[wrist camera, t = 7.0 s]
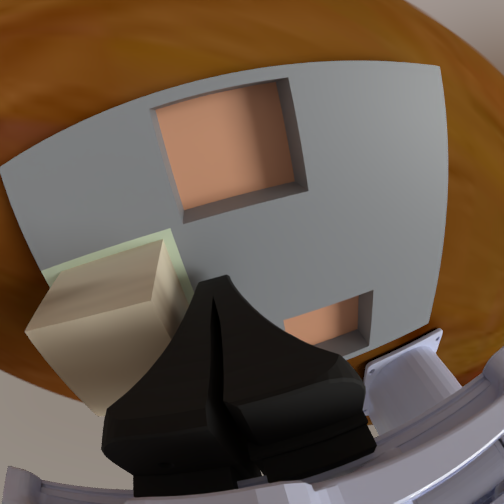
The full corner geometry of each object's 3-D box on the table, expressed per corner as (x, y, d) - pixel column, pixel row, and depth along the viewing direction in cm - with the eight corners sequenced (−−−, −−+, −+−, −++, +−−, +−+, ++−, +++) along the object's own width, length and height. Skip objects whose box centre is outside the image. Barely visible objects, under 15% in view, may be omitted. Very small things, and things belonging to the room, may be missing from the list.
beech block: (201, 332, 13) (207, 401, 10) (110, 352, 13) (97, 416, 9) (162, 238, 11) (151, 300, 7) (61, 271, 10) (24, 331, 7)
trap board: (413, 306, 19) (428, 323, 17) (143, 388, 17) (141, 412, 15) (414, 67, 11) (439, 66, 9) (21, 158, 10) (-2, 167, 8)
